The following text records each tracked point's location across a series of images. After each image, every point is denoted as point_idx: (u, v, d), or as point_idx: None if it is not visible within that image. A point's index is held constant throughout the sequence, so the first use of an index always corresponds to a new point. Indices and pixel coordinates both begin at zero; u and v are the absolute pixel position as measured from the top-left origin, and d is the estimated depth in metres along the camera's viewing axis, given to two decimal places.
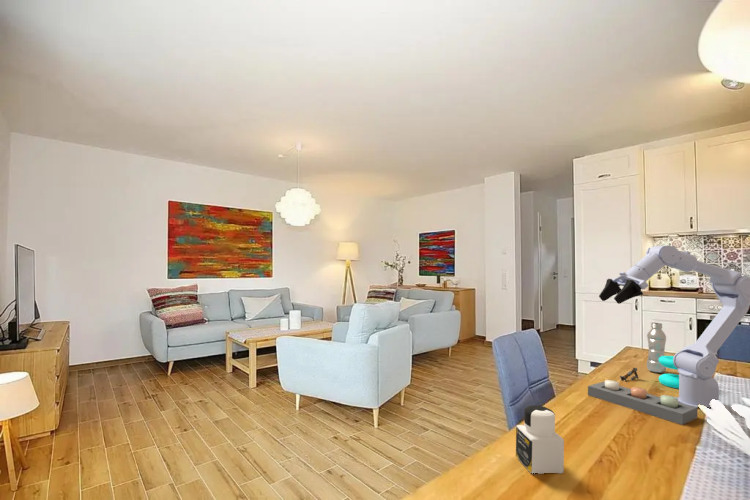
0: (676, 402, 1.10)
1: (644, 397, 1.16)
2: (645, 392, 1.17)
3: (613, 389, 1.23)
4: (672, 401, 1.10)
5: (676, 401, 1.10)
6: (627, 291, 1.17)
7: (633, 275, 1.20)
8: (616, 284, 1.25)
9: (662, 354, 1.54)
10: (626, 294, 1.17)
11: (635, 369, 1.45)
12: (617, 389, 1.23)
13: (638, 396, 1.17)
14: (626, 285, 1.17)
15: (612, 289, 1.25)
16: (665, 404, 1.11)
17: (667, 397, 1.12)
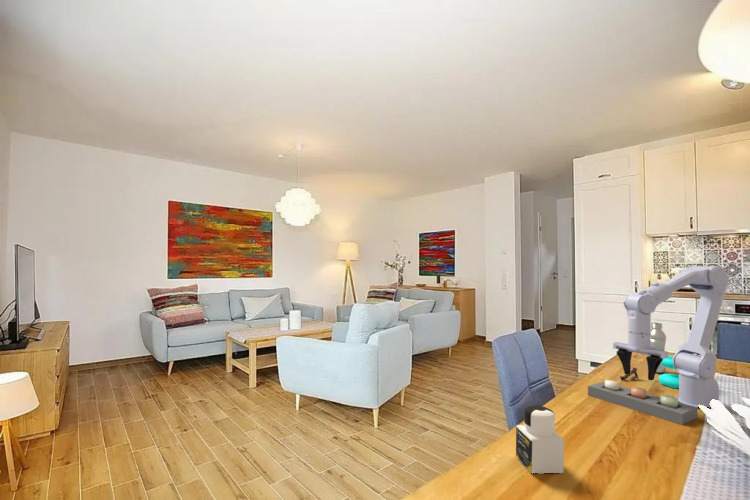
0: (676, 402, 1.10)
1: (644, 397, 1.16)
2: (645, 392, 1.17)
3: (613, 389, 1.23)
4: (672, 401, 1.10)
5: (676, 401, 1.10)
6: None
7: (644, 345, 1.16)
8: (627, 352, 1.21)
9: None
10: (653, 368, 1.15)
11: (635, 369, 1.45)
12: (617, 389, 1.23)
13: (638, 396, 1.17)
14: (650, 364, 1.14)
15: (627, 358, 1.21)
16: (665, 404, 1.11)
17: (667, 397, 1.12)
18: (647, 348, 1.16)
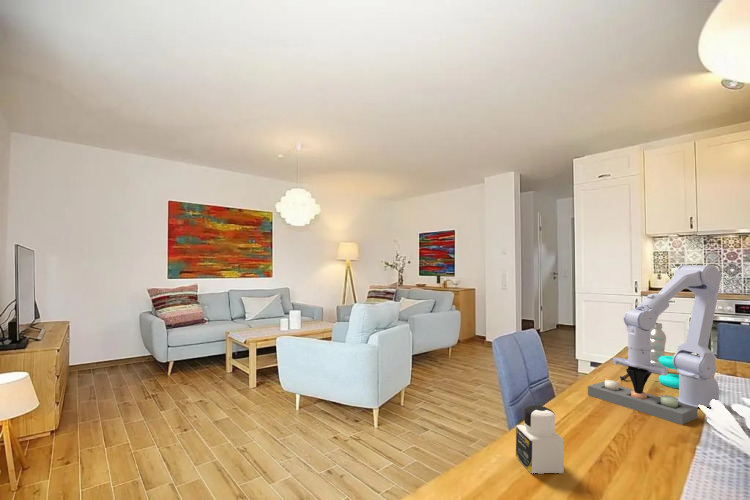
0: (676, 402, 1.10)
1: None
2: (645, 395, 1.17)
3: (613, 389, 1.23)
4: (672, 401, 1.10)
5: (676, 401, 1.10)
6: None
7: (643, 362, 1.16)
8: (637, 370, 1.19)
9: (662, 354, 1.54)
10: (642, 382, 1.18)
11: None
12: (617, 389, 1.23)
13: None
14: (639, 377, 1.16)
15: None
16: (665, 404, 1.11)
17: (667, 397, 1.12)
18: (647, 364, 1.16)
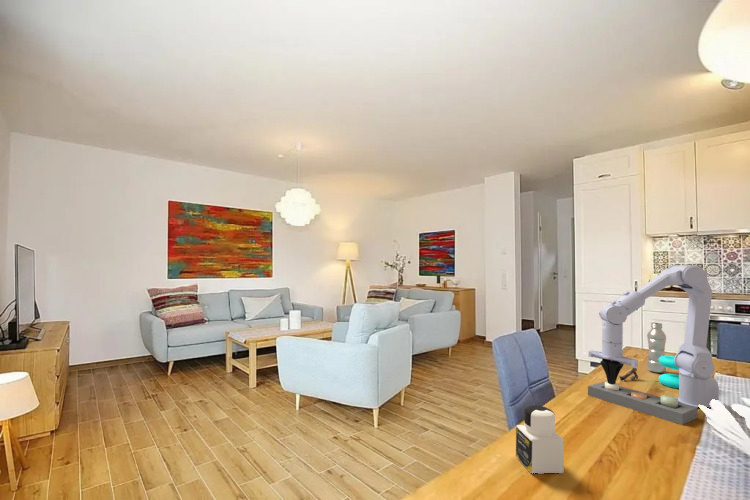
0: (676, 402, 1.10)
1: None
2: (645, 397, 1.17)
3: None
4: (672, 401, 1.10)
5: (676, 401, 1.10)
6: None
7: (616, 354, 1.23)
8: None
9: (662, 354, 1.54)
10: (614, 373, 1.25)
11: (635, 369, 1.45)
12: None
13: None
14: (612, 369, 1.23)
15: None
16: (665, 404, 1.11)
17: (667, 397, 1.12)
18: (619, 357, 1.23)
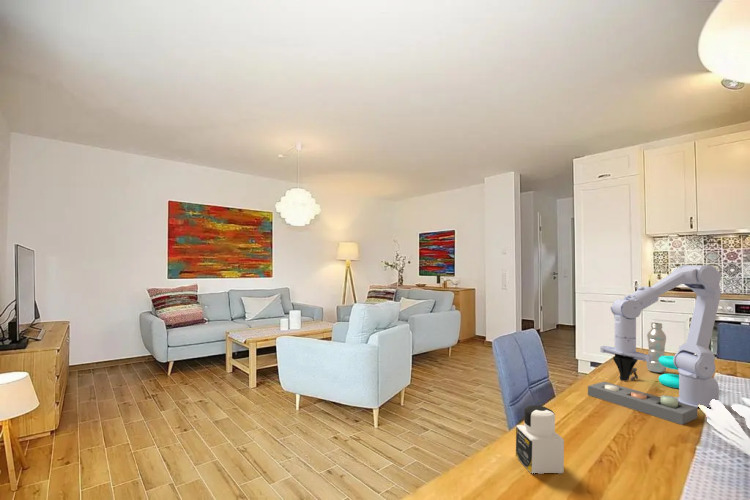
0: (676, 402, 1.10)
1: None
2: (645, 397, 1.17)
3: None
4: (672, 401, 1.10)
5: (676, 401, 1.10)
6: None
7: (629, 349, 1.19)
8: (623, 357, 1.22)
9: (662, 354, 1.54)
10: (628, 369, 1.21)
11: (634, 369, 1.45)
12: None
13: None
14: (625, 365, 1.20)
15: None
16: (665, 404, 1.11)
17: (667, 397, 1.12)
18: (632, 352, 1.19)
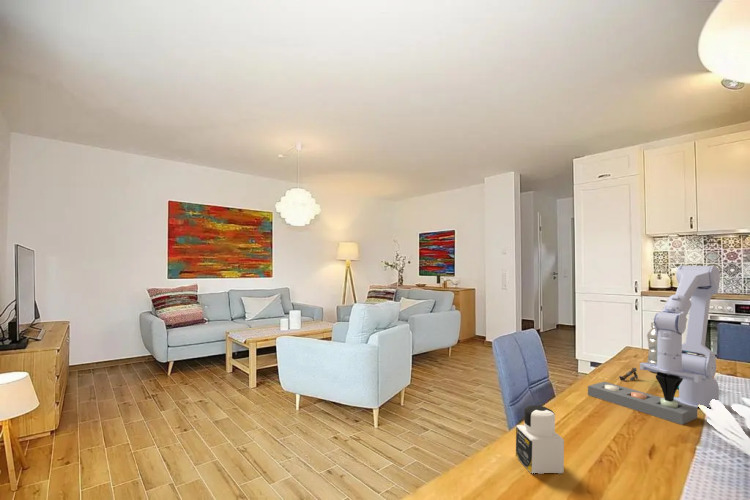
0: (676, 405, 1.10)
1: None
2: (645, 397, 1.17)
3: None
4: (672, 404, 1.10)
5: (676, 404, 1.10)
6: None
7: (675, 368, 1.09)
8: (667, 376, 1.12)
9: None
10: (672, 389, 1.11)
11: (634, 369, 1.45)
12: None
13: None
14: (670, 384, 1.10)
15: None
16: None
17: None
18: (678, 370, 1.09)
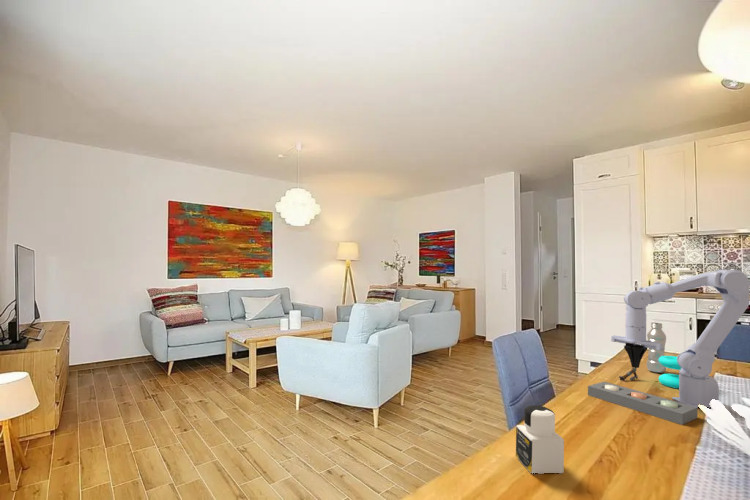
0: (676, 407, 1.10)
1: None
2: (645, 397, 1.17)
3: None
4: (672, 406, 1.10)
5: (676, 406, 1.10)
6: None
7: (640, 338, 1.25)
8: None
9: (662, 354, 1.54)
10: (638, 357, 1.27)
11: (634, 369, 1.45)
12: None
13: None
14: (636, 353, 1.26)
15: None
16: None
17: (667, 402, 1.12)
18: (643, 340, 1.25)
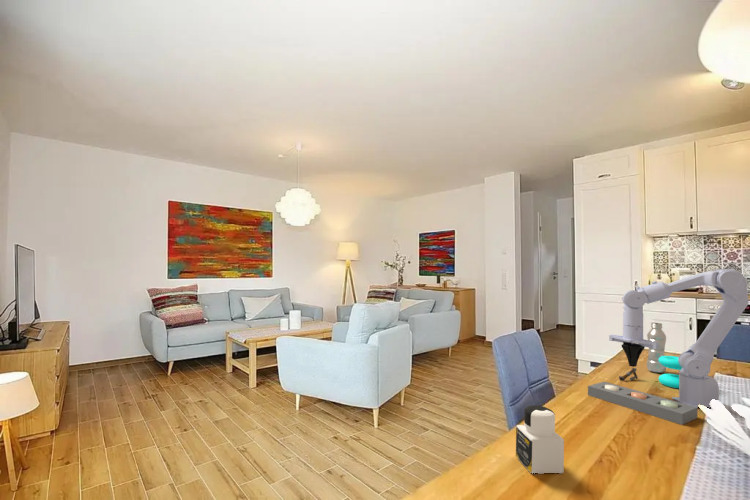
0: (676, 407, 1.10)
1: None
2: (645, 397, 1.17)
3: None
4: (672, 406, 1.10)
5: (676, 406, 1.10)
6: None
7: (637, 337, 1.27)
8: None
9: (662, 354, 1.54)
10: (635, 356, 1.29)
11: (634, 369, 1.45)
12: None
13: None
14: (633, 352, 1.27)
15: None
16: None
17: (667, 402, 1.12)
18: (640, 339, 1.27)
